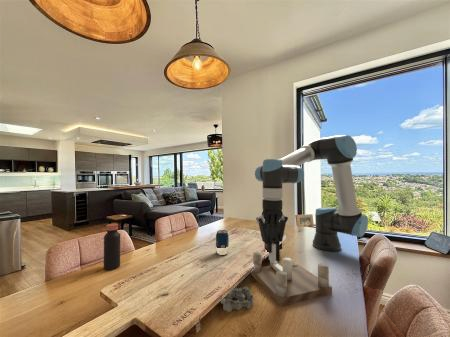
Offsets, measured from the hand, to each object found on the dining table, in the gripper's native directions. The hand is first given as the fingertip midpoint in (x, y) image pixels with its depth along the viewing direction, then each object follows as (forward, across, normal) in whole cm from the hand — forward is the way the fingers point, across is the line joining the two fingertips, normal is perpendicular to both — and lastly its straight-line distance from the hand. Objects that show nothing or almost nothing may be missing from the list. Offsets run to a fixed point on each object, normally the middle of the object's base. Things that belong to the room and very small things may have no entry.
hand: (272, 260), depth 78 cm
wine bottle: (+11, -14, -23) cm, 29 cm away
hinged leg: (+7, -7, -5) cm, 11 cm away
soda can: (+11, +8, -38) cm, 40 cm away
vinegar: (+11, +62, -39) cm, 74 cm away
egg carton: (+11, +16, +4) cm, 20 cm away
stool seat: (+10, -8, -1) cm, 13 cm away
